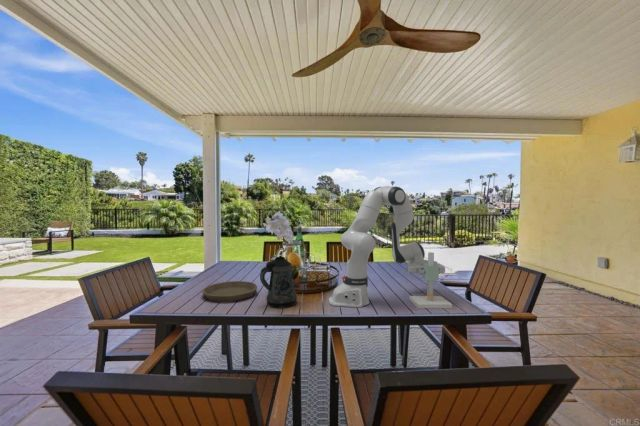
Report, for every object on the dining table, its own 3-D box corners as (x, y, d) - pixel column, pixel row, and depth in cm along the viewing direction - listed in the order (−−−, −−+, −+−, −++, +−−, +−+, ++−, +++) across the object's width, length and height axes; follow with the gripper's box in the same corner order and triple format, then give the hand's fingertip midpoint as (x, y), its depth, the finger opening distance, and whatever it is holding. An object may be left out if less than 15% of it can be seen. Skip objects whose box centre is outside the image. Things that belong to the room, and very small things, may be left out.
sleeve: (427, 280, 159) (427, 265, 159) (422, 277, 166) (423, 263, 165) (438, 280, 160) (438, 265, 159) (433, 277, 166) (434, 263, 166)
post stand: (418, 308, 156) (419, 255, 155) (409, 299, 170) (410, 250, 169) (452, 308, 156) (453, 255, 155) (440, 299, 170) (441, 250, 169)
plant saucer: (190, 301, 165) (190, 292, 165) (221, 286, 195) (221, 279, 195) (241, 306, 158) (241, 297, 157) (265, 289, 188) (265, 282, 188)
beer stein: (302, 301, 165) (302, 256, 164) (280, 312, 148) (281, 262, 148) (279, 296, 174) (279, 253, 173) (256, 306, 157) (256, 259, 156)
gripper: (404, 261, 175) (412, 266, 161) (439, 261, 176) (449, 266, 162) (404, 272, 175) (412, 277, 161) (438, 272, 176) (449, 277, 162)
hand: (431, 272), depth 162 cm, fingers closed on sleeve, 6 cm apart
